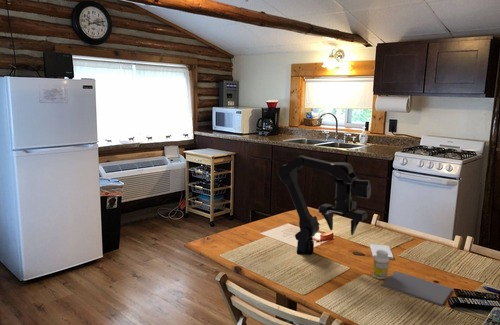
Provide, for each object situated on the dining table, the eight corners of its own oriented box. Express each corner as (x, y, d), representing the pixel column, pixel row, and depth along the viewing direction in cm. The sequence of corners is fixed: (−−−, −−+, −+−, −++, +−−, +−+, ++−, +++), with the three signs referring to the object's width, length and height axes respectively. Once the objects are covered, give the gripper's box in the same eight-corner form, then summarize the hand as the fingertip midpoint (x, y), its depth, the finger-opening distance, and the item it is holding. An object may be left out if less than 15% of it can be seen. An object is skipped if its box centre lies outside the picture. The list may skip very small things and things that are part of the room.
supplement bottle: (384, 280, 141) (386, 256, 140) (370, 276, 145) (372, 252, 143) (389, 275, 146) (392, 251, 144) (376, 271, 149) (378, 247, 147)
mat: (381, 285, 138) (381, 284, 138) (395, 272, 148) (395, 270, 148) (441, 306, 125) (441, 304, 125) (452, 290, 136) (452, 288, 136)
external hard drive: (389, 249, 172) (393, 260, 160) (369, 247, 174) (373, 258, 162) (389, 245, 172) (393, 256, 160) (370, 244, 174) (373, 254, 162)
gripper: (374, 194, 153) (372, 232, 156) (331, 187, 165) (330, 223, 168) (362, 200, 145) (360, 240, 147) (318, 192, 157) (317, 229, 159)
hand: (341, 232), depth 156 cm, fingers open, 9 cm apart
